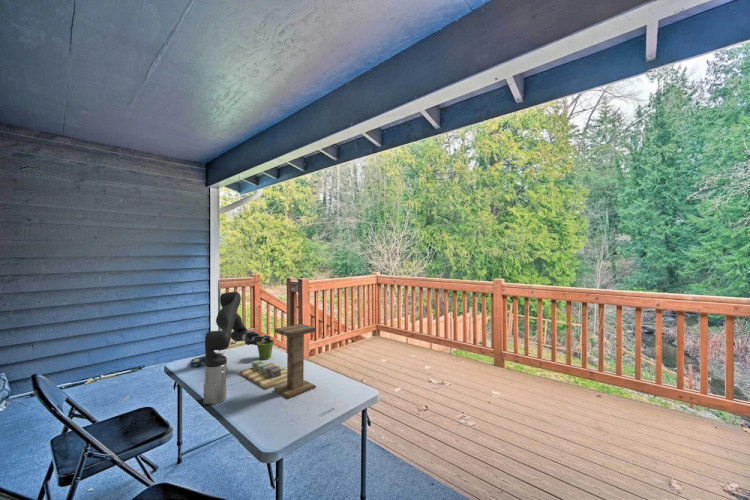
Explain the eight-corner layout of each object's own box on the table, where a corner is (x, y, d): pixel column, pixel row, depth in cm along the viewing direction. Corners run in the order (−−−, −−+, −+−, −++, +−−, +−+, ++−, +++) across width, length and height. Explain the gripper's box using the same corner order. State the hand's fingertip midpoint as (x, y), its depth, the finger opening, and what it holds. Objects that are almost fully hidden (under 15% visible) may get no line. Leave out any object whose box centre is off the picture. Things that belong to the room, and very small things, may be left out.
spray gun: (229, 361, 200) (220, 356, 210) (229, 354, 200) (220, 350, 210) (194, 370, 185) (187, 364, 195) (194, 363, 185) (186, 358, 195)
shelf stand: (315, 388, 159) (316, 327, 160) (289, 398, 147) (289, 333, 148) (300, 381, 168) (300, 323, 169) (274, 390, 156) (275, 328, 157)
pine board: (299, 378, 172) (299, 375, 172) (266, 389, 157) (266, 386, 157) (270, 364, 193) (270, 362, 194) (239, 373, 179) (239, 370, 179)
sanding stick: (280, 375, 171) (280, 368, 172) (272, 378, 168) (272, 371, 168) (258, 364, 189) (258, 358, 189) (251, 366, 185) (251, 360, 185)
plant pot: (256, 356, 210) (256, 340, 210) (274, 354, 213) (274, 338, 213) (255, 362, 198) (255, 345, 198) (273, 360, 202) (274, 343, 202)
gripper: (239, 333, 186) (252, 338, 175) (261, 329, 197) (274, 333, 186) (239, 345, 186) (251, 351, 175) (261, 341, 196) (274, 345, 186)
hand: (263, 342), depth 180 cm, fingers open, 8 cm apart
